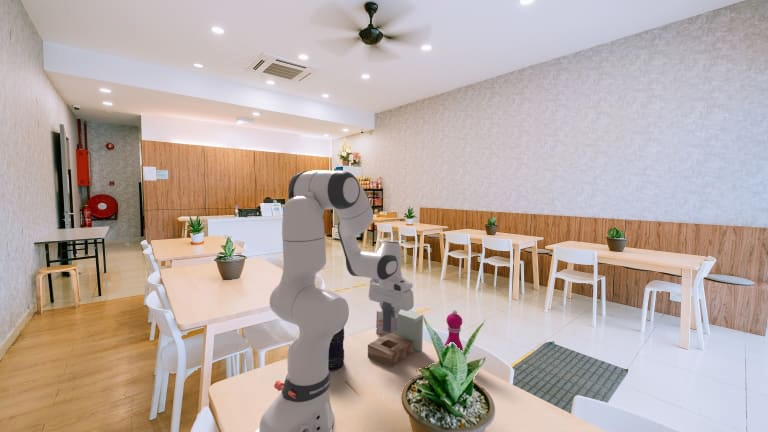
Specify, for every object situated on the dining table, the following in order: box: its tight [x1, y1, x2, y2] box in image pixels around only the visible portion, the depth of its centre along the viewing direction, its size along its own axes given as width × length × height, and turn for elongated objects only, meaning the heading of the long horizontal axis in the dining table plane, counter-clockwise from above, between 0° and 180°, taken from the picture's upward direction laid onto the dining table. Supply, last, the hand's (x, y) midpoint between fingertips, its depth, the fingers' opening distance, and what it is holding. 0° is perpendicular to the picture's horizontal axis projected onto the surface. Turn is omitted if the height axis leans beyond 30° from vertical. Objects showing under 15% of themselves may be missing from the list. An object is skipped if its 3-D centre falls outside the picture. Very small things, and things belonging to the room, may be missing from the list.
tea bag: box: [375, 310, 388, 335], centre depth 145 cm, size 4×7×10 cm, turn 87°
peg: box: [383, 301, 397, 334], centre depth 123 cm, size 4×4×12 cm
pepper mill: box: [444, 309, 464, 352], centre depth 121 cm, size 7×7×20 cm
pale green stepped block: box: [392, 310, 424, 353], centre depth 131 cm, size 6×16×16 cm, turn 51°
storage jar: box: [328, 326, 345, 372], centre depth 117 cm, size 10×10×15 cm
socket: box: [367, 333, 414, 369], centre depth 125 cm, size 14×12×5 cm
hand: (390, 315), depth 123 cm, fingers closed on peg, 4 cm apart
